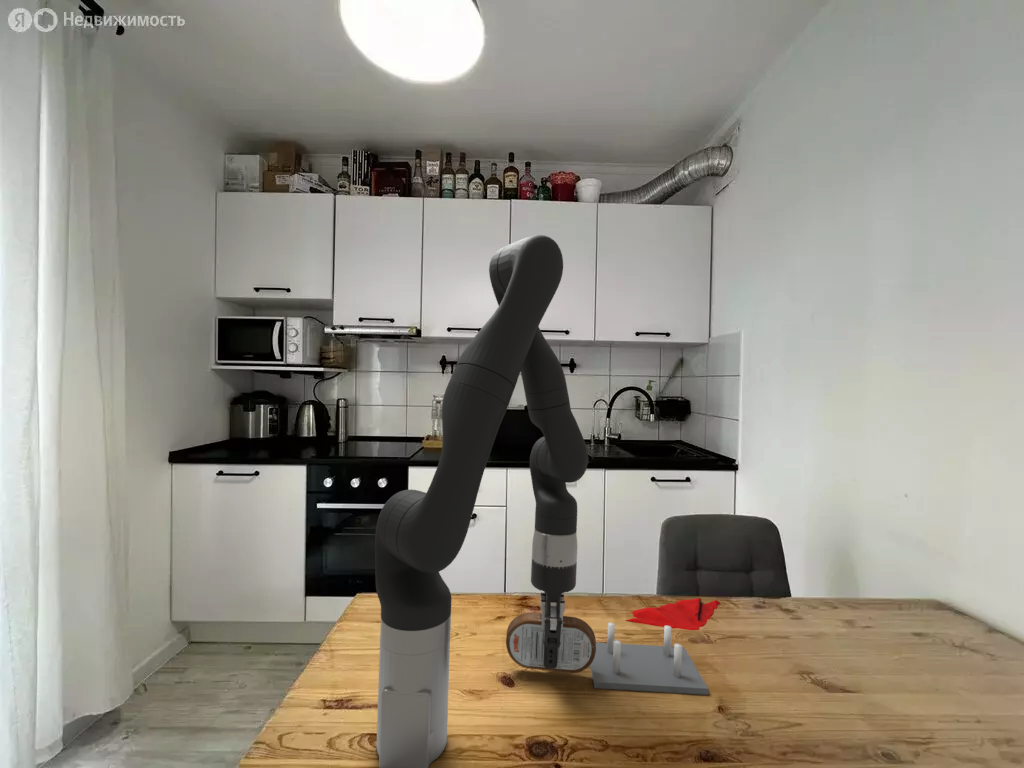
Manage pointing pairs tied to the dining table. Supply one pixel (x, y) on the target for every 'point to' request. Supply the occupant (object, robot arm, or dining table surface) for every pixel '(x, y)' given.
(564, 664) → the tin
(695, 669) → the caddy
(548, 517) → the robot arm
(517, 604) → the dining table surface
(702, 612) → the cloth
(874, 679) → the dining table surface
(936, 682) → the dining table surface
